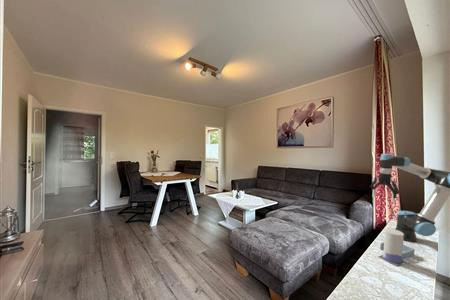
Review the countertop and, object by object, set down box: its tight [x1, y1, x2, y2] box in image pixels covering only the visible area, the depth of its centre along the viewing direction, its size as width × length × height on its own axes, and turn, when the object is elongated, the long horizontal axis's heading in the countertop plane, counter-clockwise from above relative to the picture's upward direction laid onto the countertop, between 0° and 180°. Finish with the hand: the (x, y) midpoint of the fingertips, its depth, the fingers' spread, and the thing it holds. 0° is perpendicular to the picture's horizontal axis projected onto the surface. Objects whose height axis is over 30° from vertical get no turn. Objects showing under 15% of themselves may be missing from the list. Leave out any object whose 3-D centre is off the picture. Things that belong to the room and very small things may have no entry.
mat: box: [378, 254, 407, 267], centre depth 140 cm, size 11×11×1 cm
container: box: [382, 228, 404, 263], centre depth 140 cm, size 10×10×20 cm
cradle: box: [379, 241, 416, 261], centre depth 149 cm, size 14×14×5 cm
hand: (383, 199), depth 159 cm, fingers open, 13 cm apart
